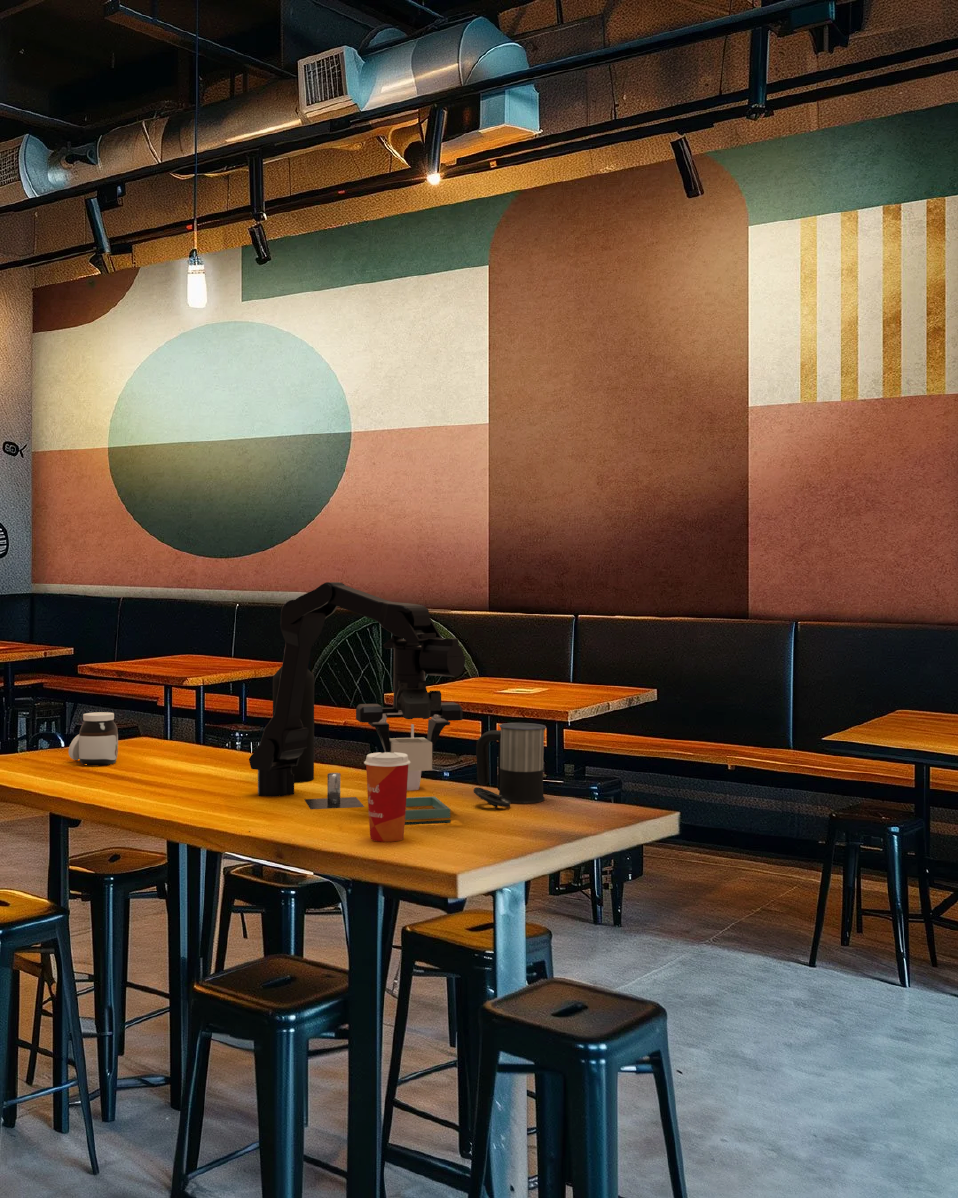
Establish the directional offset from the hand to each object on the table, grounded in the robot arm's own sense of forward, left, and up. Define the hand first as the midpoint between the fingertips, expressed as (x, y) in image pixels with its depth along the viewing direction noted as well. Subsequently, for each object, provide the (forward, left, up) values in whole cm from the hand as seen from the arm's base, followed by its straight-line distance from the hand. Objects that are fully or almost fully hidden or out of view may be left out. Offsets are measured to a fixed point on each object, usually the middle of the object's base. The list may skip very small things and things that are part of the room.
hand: (408, 760), depth 217 cm
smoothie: (+5, +24, -11) cm, 27 cm away
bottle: (-16, +46, -11) cm, 50 cm away
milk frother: (+22, +10, -11) cm, 26 cm away
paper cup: (-7, -16, -11) cm, 20 cm away
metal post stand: (-12, +12, -10) cm, 20 cm away
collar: (0, 0, -2) cm, 2 cm away
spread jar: (-59, +79, -11) cm, 99 cm away
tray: (0, 0, -10) cm, 11 cm away
